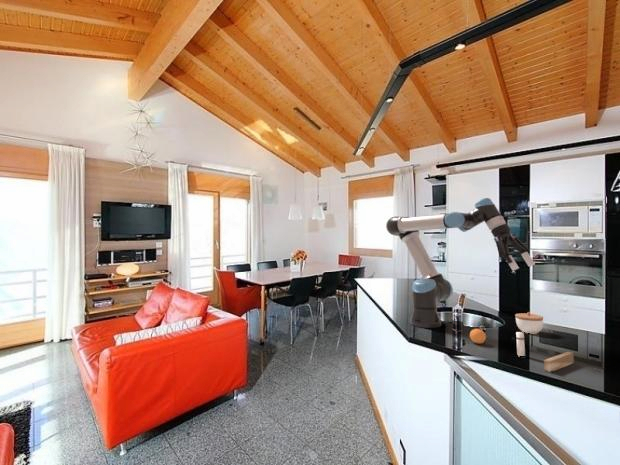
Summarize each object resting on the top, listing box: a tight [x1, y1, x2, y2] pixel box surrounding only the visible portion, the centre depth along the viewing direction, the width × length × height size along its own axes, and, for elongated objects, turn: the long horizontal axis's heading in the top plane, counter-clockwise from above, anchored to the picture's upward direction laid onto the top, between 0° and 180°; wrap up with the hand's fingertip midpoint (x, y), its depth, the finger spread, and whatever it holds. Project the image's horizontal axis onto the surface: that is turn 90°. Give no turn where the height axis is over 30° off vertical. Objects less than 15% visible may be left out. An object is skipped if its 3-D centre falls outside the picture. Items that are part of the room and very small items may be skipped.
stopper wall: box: [543, 351, 575, 373], centre depth 102 cm, size 2×16×4 cm, turn 117°
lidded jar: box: [514, 311, 544, 335], centre depth 142 cm, size 11×11×9 cm
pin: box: [515, 331, 526, 357], centre depth 113 cm, size 2×2×8 cm
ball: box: [469, 328, 487, 345], centre depth 128 cm, size 6×6×6 cm
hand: (524, 267), depth 136 cm, fingers open, 13 cm apart
